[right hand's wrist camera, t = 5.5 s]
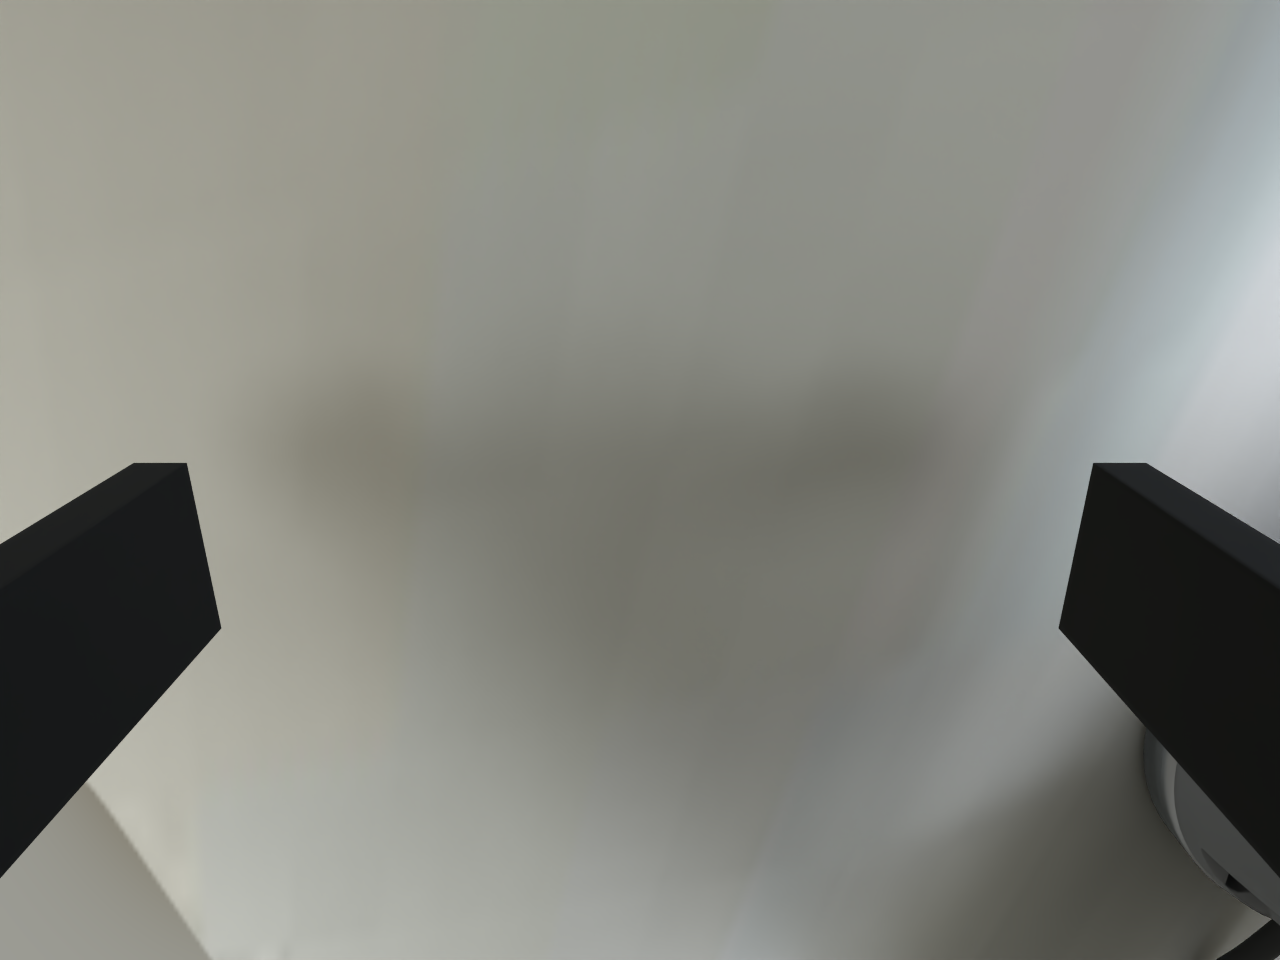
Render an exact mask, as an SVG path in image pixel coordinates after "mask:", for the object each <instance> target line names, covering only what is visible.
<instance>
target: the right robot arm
mask: <svg viewBox="0 0 1280 960" xmlns="http://www.w3.org/2000/svg"><path fill="white" fill-rule="evenodd" d="M220 629H221V624H220V619H219V615H218V610H217V605H216V600H215V596H214V591H213V586H212V581H211V577H210V572H209V567H208V562H207V557H206V553H205V548H204V543H203V538H202V534H201V529H200V524H199V519H198V515H197V510H196V505H195V500H194V495H193V491H192V486H191V481H190V476H189V472H188V467H187V463H133V464H131V465H130V466H128V467H126V468H125V469H123V470H122V471H120V472H118V473H117V474H115V475H113V476H112V477H110V478H108V479H107V480H105V481H103V482H102V483H100V484H98V485H97V486H95V487H94V488H92V489H90V490H89V491H87V492H85V493H84V494H82V495H80V496H79V497H77V498H75V499H74V500H72V501H71V502H69V503H67V504H66V505H64V506H62V507H61V508H59V509H57V510H56V511H54V512H52V513H51V514H49V515H48V516H46V517H44V518H43V519H41V520H39V521H38V522H36V523H34V524H33V525H31V526H29V527H28V528H26V529H25V530H23V531H21V532H20V533H18V534H16V535H15V536H13V537H11V538H10V539H8V540H6V541H5V542H3V543H2V544H0V878H1V877H2V876H3V874H4V873H5V872H6V871H7V870H8V869H9V868H10V867H11V865H12V864H13V863H14V862H15V861H16V860H17V859H18V858H19V856H20V855H21V854H22V853H23V852H24V851H25V850H26V848H27V847H28V846H29V845H30V844H31V843H32V842H33V841H34V839H35V838H36V837H37V836H38V835H39V834H40V833H41V831H42V830H43V829H44V828H45V827H46V826H47V825H48V824H49V822H50V821H51V820H52V819H53V818H54V817H55V816H56V815H57V813H58V812H59V811H60V810H61V809H62V808H63V807H64V806H65V804H66V803H67V802H68V801H69V800H70V799H71V798H72V796H73V795H74V794H75V793H76V792H77V791H78V790H79V789H80V787H81V786H82V785H83V784H84V783H85V782H86V781H87V780H88V778H89V777H90V776H91V775H92V774H93V773H94V772H95V770H96V769H97V768H98V767H99V766H100V765H101V764H102V763H103V761H104V760H105V759H106V758H107V757H108V756H109V755H110V754H111V752H112V751H113V750H114V749H115V748H116V747H117V746H118V744H119V743H120V742H121V741H122V740H123V739H124V738H125V737H126V735H127V734H128V733H129V732H130V731H131V730H132V729H133V728H134V726H135V725H136V724H137V723H138V722H139V721H140V720H141V718H142V717H143V716H144V715H145V714H146V713H147V712H148V711H149V709H150V708H151V707H152V706H153V705H154V704H155V703H156V702H157V700H158V699H159V698H160V697H161V696H162V695H163V694H164V692H165V691H166V690H167V689H168V688H169V687H170V686H171V685H172V683H173V682H174V681H175V680H176V679H177V678H178V677H179V676H180V674H181V673H182V672H183V671H184V670H185V669H186V668H187V666H188V665H189V664H190V663H191V662H192V661H193V660H194V659H195V657H196V656H197V655H198V654H199V653H200V652H201V651H202V650H203V648H204V647H205V646H206V645H207V644H208V643H209V642H210V640H211V639H212V638H213V637H214V636H215V635H216V634H217V633H218V631H219V630H220ZM1059 629H1060V630H1061V631H1062V633H1063V634H1064V635H1065V636H1066V637H1067V638H1068V639H1069V640H1070V642H1071V643H1072V644H1073V645H1074V646H1075V647H1076V648H1077V650H1078V651H1079V652H1080V653H1081V654H1082V655H1083V656H1084V657H1085V659H1086V660H1087V661H1088V662H1089V663H1090V664H1091V665H1092V666H1093V668H1094V669H1095V670H1096V671H1097V672H1098V673H1099V674H1100V676H1101V677H1102V678H1103V679H1104V680H1105V681H1106V682H1107V683H1108V685H1109V686H1110V687H1111V688H1112V689H1113V690H1114V691H1115V692H1116V694H1117V695H1118V696H1119V697H1120V698H1121V699H1122V700H1123V702H1124V703H1125V704H1126V705H1127V706H1128V707H1129V708H1130V709H1131V711H1132V712H1133V713H1134V714H1135V715H1136V716H1137V717H1138V718H1139V720H1140V721H1141V722H1142V723H1143V724H1144V725H1145V726H1146V728H1147V729H1146V734H1145V743H1144V770H1145V776H1146V781H1147V786H1148V789H1149V792H1150V795H1151V798H1152V801H1153V803H1154V805H1155V807H1156V809H1157V811H1158V813H1159V815H1160V817H1161V818H1162V820H1163V821H1164V823H1165V824H1166V826H1167V827H1168V828H1169V830H1170V831H1171V832H1172V833H1173V835H1174V836H1175V837H1176V839H1177V840H1178V841H1179V842H1180V844H1181V845H1182V846H1183V847H1184V849H1185V850H1186V851H1187V853H1188V854H1189V855H1190V856H1191V858H1192V859H1193V860H1194V861H1195V863H1196V864H1197V865H1198V866H1199V867H1200V868H1201V870H1202V871H1203V872H1204V873H1205V874H1206V875H1207V876H1208V877H1209V878H1210V879H1212V880H1213V881H1214V882H1215V883H1216V884H1217V885H1218V886H1220V887H1221V888H1223V889H1224V890H1226V891H1227V892H1229V893H1230V894H1231V895H1233V896H1234V897H1235V898H1237V899H1238V900H1240V901H1241V902H1243V903H1244V904H1246V905H1247V906H1249V907H1250V908H1252V909H1253V910H1255V911H1257V912H1259V913H1260V914H1262V915H1264V916H1267V917H1269V918H1271V919H1272V920H1270V921H1269V922H1268V923H1267V924H1265V925H1264V926H1263V927H1262V928H1260V929H1259V930H1258V931H1257V932H1255V933H1254V934H1253V935H1251V936H1250V937H1249V938H1248V939H1246V940H1245V941H1244V942H1242V943H1241V944H1240V945H1238V946H1237V947H1235V948H1234V949H1232V950H1231V951H1229V952H1228V953H1226V954H1224V955H1223V956H1221V957H1220V958H1218V959H1216V960H1274V959H1275V958H1276V957H1278V956H1279V955H1280V544H1278V543H1277V542H1275V541H1274V540H1272V539H1270V538H1269V537H1267V536H1265V535H1264V534H1262V533H1260V532H1259V531H1257V530H1255V529H1254V528H1252V527H1251V526H1249V525H1247V524H1246V523H1244V522H1242V521H1241V520H1239V519H1237V518H1236V517H1234V516H1232V515H1231V514H1229V513H1228V512H1226V511H1224V510H1223V509H1221V508H1219V507H1218V506H1216V505H1214V504H1213V503H1211V502H1209V501H1208V500H1206V499H1205V498H1203V497H1201V496H1200V495H1198V494H1196V493H1195V492H1193V491H1191V490H1190V489H1188V488H1186V487H1185V486H1183V485H1182V484H1180V483H1178V482H1177V481H1175V480H1173V479H1172V478H1170V477H1168V476H1167V475H1165V474H1163V473H1162V472H1160V471H1158V470H1157V469H1155V468H1154V467H1152V466H1150V465H1149V464H1147V463H1093V467H1092V472H1091V476H1090V481H1089V486H1088V491H1087V495H1086V500H1085V505H1084V510H1083V515H1082V519H1081V524H1080V529H1079V534H1078V538H1077V543H1076V548H1075V553H1074V557H1073V562H1072V567H1071V572H1070V577H1069V581H1068V586H1067V591H1066V596H1065V600H1064V605H1063V610H1062V615H1061V619H1060V624H1059Z"/></svg>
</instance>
